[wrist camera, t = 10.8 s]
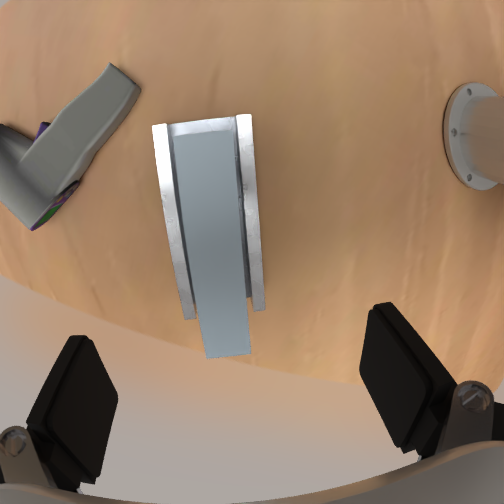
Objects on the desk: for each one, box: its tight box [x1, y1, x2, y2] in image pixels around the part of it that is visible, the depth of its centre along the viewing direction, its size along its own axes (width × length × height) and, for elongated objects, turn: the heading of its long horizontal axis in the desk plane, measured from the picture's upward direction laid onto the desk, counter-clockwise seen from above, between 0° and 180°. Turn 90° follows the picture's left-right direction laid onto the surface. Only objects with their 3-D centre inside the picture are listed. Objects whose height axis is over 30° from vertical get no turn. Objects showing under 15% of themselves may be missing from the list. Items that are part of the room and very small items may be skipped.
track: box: [152, 114, 265, 320], centre depth 25 cm, size 16×7×4 cm, turn 4°
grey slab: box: [173, 130, 251, 359], centre depth 21 cm, size 14×3×9 cm, turn 4°
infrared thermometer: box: [0, 62, 141, 231], centre depth 20 cm, size 5×12×15 cm
